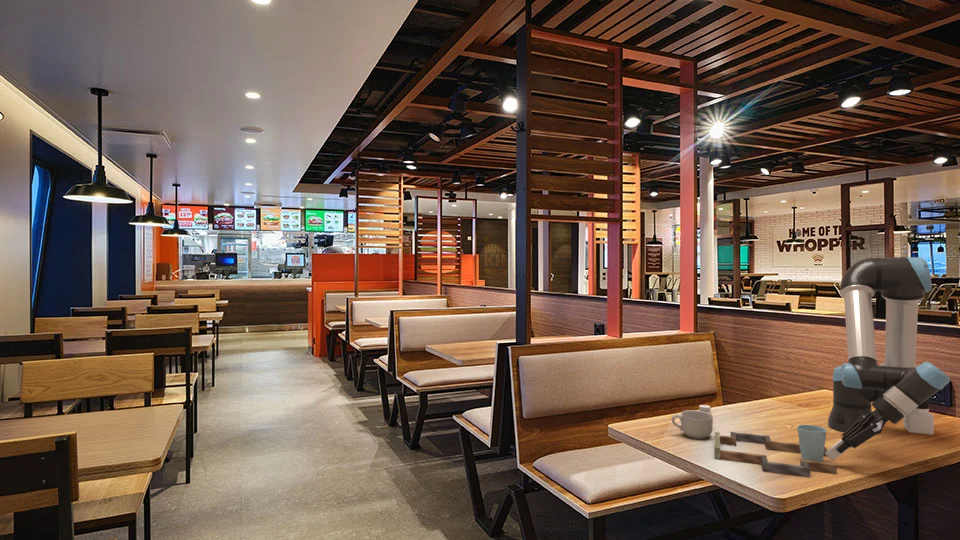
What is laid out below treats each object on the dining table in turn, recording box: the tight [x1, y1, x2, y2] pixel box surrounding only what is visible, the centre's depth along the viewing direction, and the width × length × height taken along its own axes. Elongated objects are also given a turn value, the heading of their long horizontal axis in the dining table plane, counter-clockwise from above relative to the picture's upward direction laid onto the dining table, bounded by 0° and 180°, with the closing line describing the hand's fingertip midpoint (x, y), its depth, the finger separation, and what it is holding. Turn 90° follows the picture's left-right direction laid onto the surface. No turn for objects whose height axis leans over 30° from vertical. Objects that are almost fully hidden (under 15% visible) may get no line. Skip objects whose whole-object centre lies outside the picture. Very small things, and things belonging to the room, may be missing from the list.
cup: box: [796, 424, 827, 462], centre depth 163 cm, size 8×8×10 cm
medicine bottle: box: [902, 399, 935, 436], centre depth 191 cm, size 7×7×12 cm
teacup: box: [671, 409, 714, 440], centre depth 189 cm, size 14×11×8 cm
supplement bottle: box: [698, 404, 713, 416], centre depth 198 cm, size 5×5×8 cm
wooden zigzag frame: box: [714, 431, 838, 478], centre depth 168 cm, size 32×28×4 cm
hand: (828, 456), depth 160 cm, fingers closed
